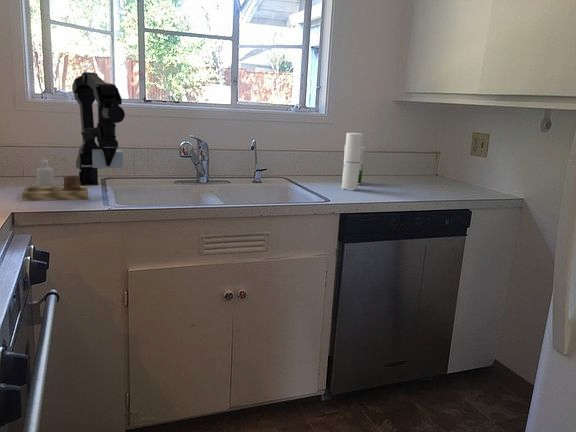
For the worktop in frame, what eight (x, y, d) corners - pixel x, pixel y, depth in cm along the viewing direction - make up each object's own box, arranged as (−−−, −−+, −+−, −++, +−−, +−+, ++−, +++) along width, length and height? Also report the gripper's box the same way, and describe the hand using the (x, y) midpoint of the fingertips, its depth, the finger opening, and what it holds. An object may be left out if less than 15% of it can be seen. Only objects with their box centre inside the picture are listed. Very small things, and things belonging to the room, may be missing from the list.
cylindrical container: (350, 191, 218) (355, 134, 212) (338, 188, 223) (343, 132, 217) (360, 190, 222) (366, 134, 216) (348, 187, 227) (354, 132, 221)
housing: (121, 165, 182) (121, 149, 181) (123, 168, 176) (122, 152, 174) (92, 164, 178) (92, 149, 177) (93, 167, 172) (92, 151, 170)
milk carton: (339, 181, 241) (343, 140, 237) (356, 182, 244) (360, 141, 239) (345, 184, 233) (349, 142, 228) (363, 185, 235) (367, 143, 231)
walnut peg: (80, 195, 175) (79, 175, 174) (80, 197, 172) (79, 177, 171) (64, 195, 173) (63, 175, 172) (64, 197, 170) (63, 177, 169)
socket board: (87, 192, 180) (87, 185, 179) (88, 199, 169) (87, 192, 169) (26, 193, 172) (25, 186, 172) (22, 200, 162) (22, 193, 161)
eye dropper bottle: (38, 188, 181) (36, 156, 178) (55, 188, 183) (53, 156, 180) (36, 191, 177) (34, 157, 174) (53, 191, 179) (52, 158, 176)
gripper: (81, 117, 178) (83, 160, 182) (82, 121, 161) (83, 168, 165) (114, 119, 182) (114, 160, 186) (117, 122, 166) (118, 168, 170)
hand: (107, 164), depth 177 cm, fingers closed on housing, 7 cm apart
